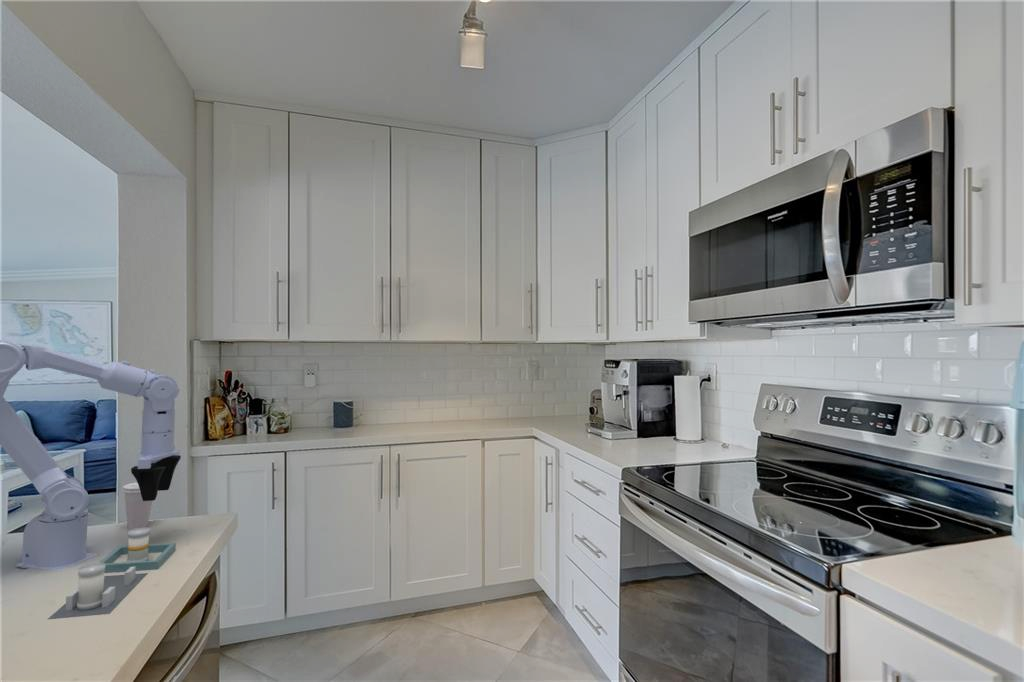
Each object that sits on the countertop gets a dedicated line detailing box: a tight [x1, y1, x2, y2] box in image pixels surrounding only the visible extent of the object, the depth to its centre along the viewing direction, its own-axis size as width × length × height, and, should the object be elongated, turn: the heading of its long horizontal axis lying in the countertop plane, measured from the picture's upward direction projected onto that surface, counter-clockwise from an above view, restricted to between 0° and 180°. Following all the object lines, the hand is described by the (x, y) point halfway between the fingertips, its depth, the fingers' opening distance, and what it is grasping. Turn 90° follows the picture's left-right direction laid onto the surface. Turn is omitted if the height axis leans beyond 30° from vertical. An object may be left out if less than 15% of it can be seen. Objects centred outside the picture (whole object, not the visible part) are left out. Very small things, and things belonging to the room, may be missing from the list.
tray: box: [98, 542, 177, 574], centre depth 100 cm, size 10×10×2 cm
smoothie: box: [122, 481, 153, 530], centre depth 120 cm, size 6×6×14 cm
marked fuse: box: [126, 526, 151, 562], centre depth 100 cm, size 3×3×6 cm
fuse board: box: [47, 567, 149, 620], centre depth 86 cm, size 15×8×3 cm, turn 16°
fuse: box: [77, 562, 106, 610], centre depth 83 cm, size 3×3×6 cm
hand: (156, 495), depth 110 cm, fingers open, 7 cm apart
